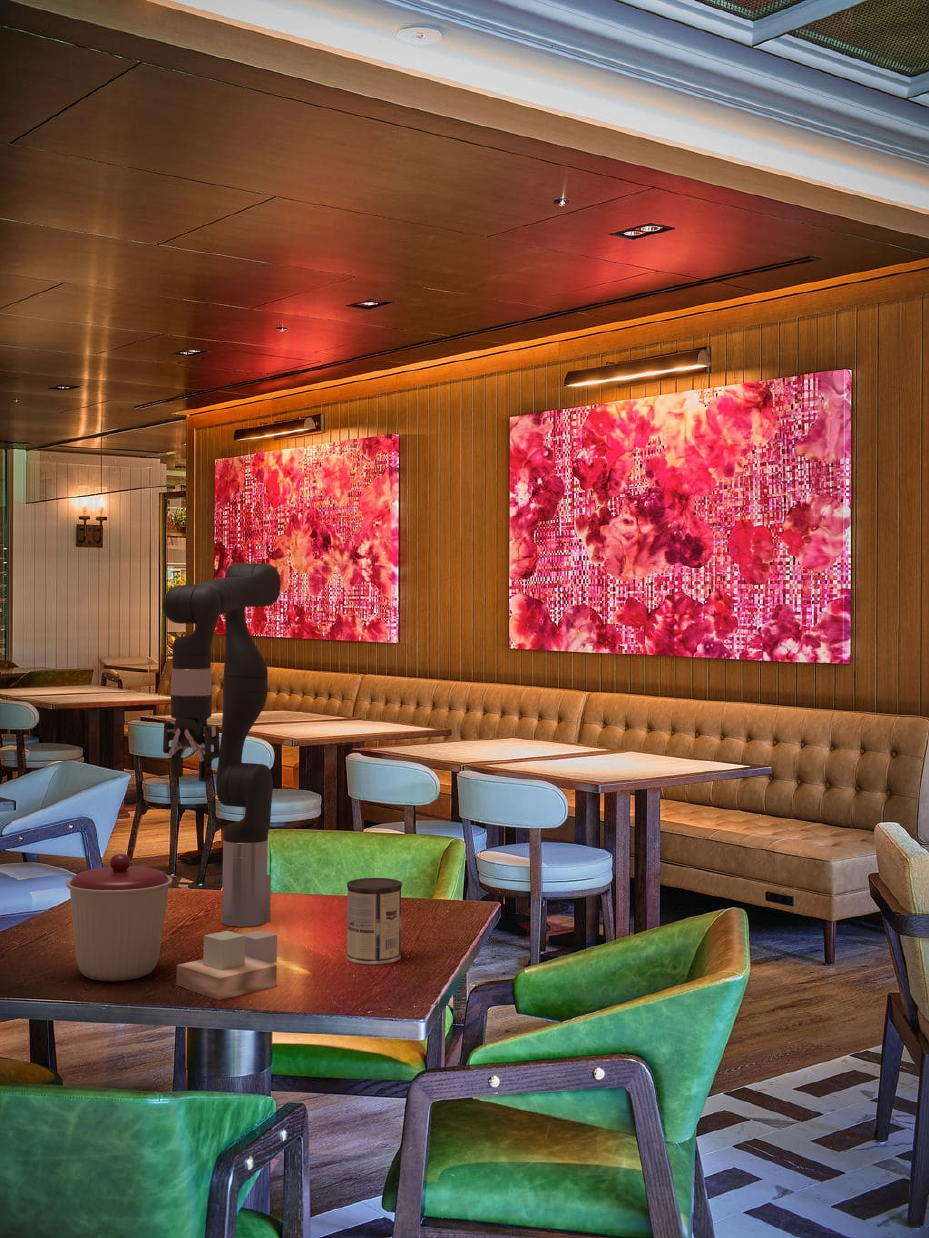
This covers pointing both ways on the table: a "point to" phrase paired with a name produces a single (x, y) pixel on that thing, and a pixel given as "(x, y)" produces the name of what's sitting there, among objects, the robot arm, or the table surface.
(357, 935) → the coffee can
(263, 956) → the grey block
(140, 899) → the canister
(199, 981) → the birch block
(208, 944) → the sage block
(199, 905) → the table surface
